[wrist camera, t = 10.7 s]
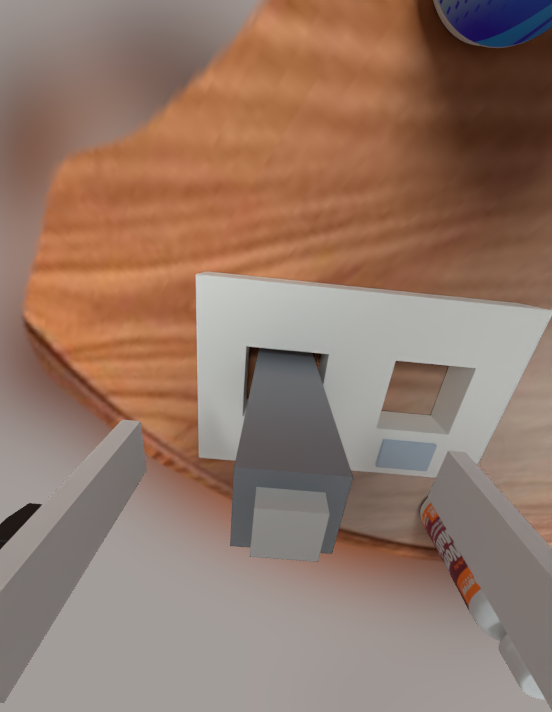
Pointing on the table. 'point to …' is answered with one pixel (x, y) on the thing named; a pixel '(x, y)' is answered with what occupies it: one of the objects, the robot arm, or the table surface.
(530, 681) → the pill bottle
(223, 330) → the socket board
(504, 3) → the beer can
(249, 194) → the table surface
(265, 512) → the plug
